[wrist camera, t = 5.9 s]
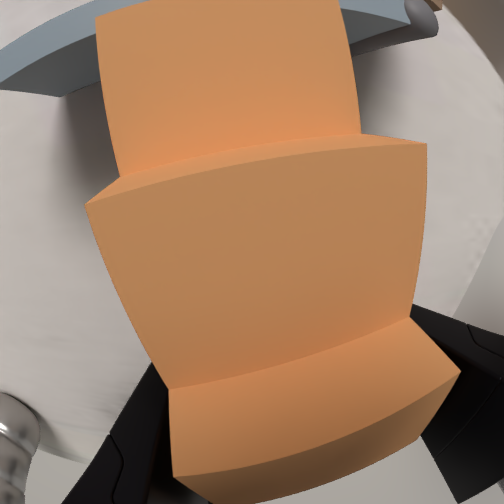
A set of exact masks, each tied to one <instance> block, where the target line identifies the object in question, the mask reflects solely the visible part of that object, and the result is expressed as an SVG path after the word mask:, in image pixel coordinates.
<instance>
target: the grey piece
mask: <svg viewBox="0 0 504 504" xmlns="http://www.w3.org/2000/svg"><path fill="white" fill-rule="evenodd" d="M145 1H149V0H94V1H92V2H89V3H87V4H84V5H82V6H79V7H77V8H75V9H72V10H70V11H68V12H66V13H64V14H62V15H59V16H57V17H55V18H53V19H51V20H49V21H47V22H46V23H44V24H42V25H40V26H38V27H36V28H35V29H33V30H31V31H29V32H28V33H26V34H24V35H23V36H21V37H19V38H18V39H16V40H15V41H13V42H12V43H10V44H9V45H7V46H6V47H4V48H3V49H1V50H0V90H10V91H19V92H28V93H35V94H42V95H49V96H55V97H62V96H64V95H66V94H68V93H71V92H73V91H75V90H78V89H80V88H83V87H85V86H88V85H90V84H93V83H96V82H98V81H101V78H100V70H99V61H98V52H97V41H96V27H95V17H98V16H100V15H103V14H106V13H109V12H112V11H115V10H118V9H121V8H124V7H127V6H131V5H134V4H138V3H141V2H145ZM338 1H339V5H340V9H341V13H342V17H343V21H344V25H345V30H346V34H347V39H348V44H349V49H350V54H351V57H353V56H356V55H359V54H363V53H366V52H369V51H373V50H377V49H380V48H384V47H388V46H392V45H396V44H400V43H405V42H409V41H414V40H419V39H424V38H430V37H434V36H436V35H437V33H438V29H439V27H438V21H437V18H436V16H435V14H434V12H433V10H432V9H431V8H430V6H429V5H428V4H427V3H426V2H425V1H424V0H338Z"/></svg>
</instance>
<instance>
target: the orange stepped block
mask: <svg viewBox="0 0 504 504" xmlns="http://www.w3.org/2000/svg"><path fill="white" fill-rule="evenodd" d="M95 27H96V41H97V52H98V61H99V70H100V78H101V85H102V91H103V98H104V104H105V110H106V115H107V121H108V126H109V131H110V136H111V141H112V145H113V150H114V154H115V158H116V163H117V167H118V171H119V175H120V177H119V178H118V179H117V180H115V181H114V182H113V183H111V184H110V185H109V186H107V187H106V188H105V189H103V190H102V191H101V192H100V193H98V194H97V195H96V196H94V197H93V198H92V199H91V200H89V201H88V202H87V203H86V204H84V206H85V209H86V212H87V215H88V218H89V221H90V224H91V227H92V230H93V233H94V236H95V239H96V242H97V244H98V247H99V250H100V252H101V255H102V257H103V260H104V263H105V265H106V268H107V270H108V272H109V275H110V277H111V280H112V282H113V284H114V287H115V289H116V291H117V293H118V296H119V298H120V300H121V302H122V304H123V307H124V309H125V311H126V313H127V315H128V317H129V319H130V321H131V323H132V325H133V327H134V329H135V331H136V333H137V335H138V337H139V339H140V341H141V343H142V344H143V346H144V348H145V350H146V352H147V354H148V355H149V357H150V359H151V361H152V363H153V364H154V366H155V368H156V370H157V371H158V373H159V375H160V376H161V378H162V380H163V381H164V383H165V385H166V386H167V388H168V389H169V420H170V440H171V455H172V468H173V477H174V478H175V479H177V480H178V481H180V482H181V483H182V484H184V485H185V486H187V487H188V488H190V489H191V490H193V491H194V492H196V493H197V494H199V495H200V496H202V497H203V498H205V499H206V500H208V501H210V502H211V503H213V504H255V503H260V502H265V501H269V500H273V499H277V498H281V497H285V496H289V495H292V494H296V493H299V492H302V491H306V490H309V489H312V488H315V487H318V486H321V485H323V484H326V483H329V482H332V481H334V480H337V479H339V478H342V477H344V476H347V475H349V474H352V473H354V472H356V471H358V470H361V469H363V468H365V467H367V466H369V465H371V464H374V463H376V462H377V461H379V460H382V459H384V458H385V457H387V456H389V455H391V454H393V453H395V452H397V451H398V450H400V449H402V448H404V447H405V446H407V445H409V444H411V443H412V442H414V441H416V440H417V439H418V437H419V436H420V435H421V433H422V432H423V431H424V429H425V428H426V426H427V425H428V424H429V422H430V421H431V419H432V418H433V416H434V415H435V414H436V412H437V411H438V409H439V407H440V406H441V404H442V403H443V401H444V400H445V398H446V396H447V395H448V393H449V392H450V390H451V388H452V386H453V385H454V383H455V381H456V379H457V378H458V376H459V374H460V372H461V371H460V370H459V368H458V367H457V366H456V365H455V364H454V363H453V362H452V361H451V360H450V359H449V357H448V356H447V355H446V354H445V353H444V352H443V351H442V350H441V349H440V348H439V347H438V346H437V345H436V344H435V343H434V341H433V340H432V339H431V338H430V337H429V336H428V335H427V334H426V333H425V332H424V331H423V330H422V329H421V328H420V327H419V326H418V325H417V324H416V323H415V322H414V321H413V320H412V319H411V318H410V317H409V316H410V311H411V307H412V302H413V297H414V292H415V287H416V282H417V276H418V270H419V264H420V257H421V249H422V241H423V232H424V222H425V209H426V191H427V144H426V143H421V142H415V141H410V140H404V139H398V138H391V137H384V136H377V135H369V134H361V124H360V114H359V106H358V98H357V90H356V83H355V77H354V71H353V65H352V59H351V54H350V49H349V44H348V39H347V34H346V30H345V25H344V21H343V17H342V13H341V9H340V5H339V1H338V0H149V1H145V2H141V3H138V4H134V5H131V6H127V7H124V8H121V9H118V10H115V11H112V12H109V13H106V14H103V15H100V16H98V17H95Z"/></svg>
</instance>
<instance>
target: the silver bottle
mask: <svg viewBox="0 0 504 504" xmlns="http://www.w3.org/2000/svg"><path fill="white" fill-rule="evenodd" d="M39 441H40V426H39V423H38V420H37V418H36V416H35V415H34V414H33V413H32V412H31V411H30V410H29V409H28V408H27V407H26V406H25V405H23V404H22V403H20V402H19V401H18V400H16V399H14V398H12V397H11V396H9V395H6V394H4V393H0V504H25V495H24V492H25V485H26V479H27V475H28V471H29V468H30V464H31V460H32V457H33V456H34V454H35V452H36V449H37V447H38V444H39Z"/></svg>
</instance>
